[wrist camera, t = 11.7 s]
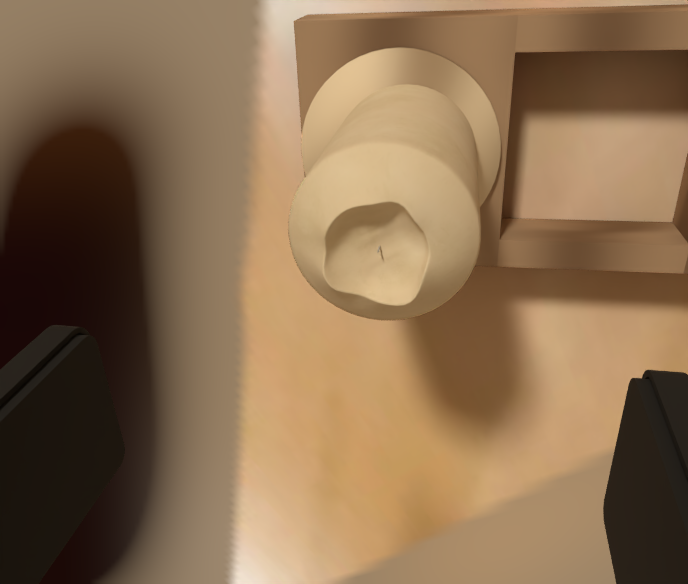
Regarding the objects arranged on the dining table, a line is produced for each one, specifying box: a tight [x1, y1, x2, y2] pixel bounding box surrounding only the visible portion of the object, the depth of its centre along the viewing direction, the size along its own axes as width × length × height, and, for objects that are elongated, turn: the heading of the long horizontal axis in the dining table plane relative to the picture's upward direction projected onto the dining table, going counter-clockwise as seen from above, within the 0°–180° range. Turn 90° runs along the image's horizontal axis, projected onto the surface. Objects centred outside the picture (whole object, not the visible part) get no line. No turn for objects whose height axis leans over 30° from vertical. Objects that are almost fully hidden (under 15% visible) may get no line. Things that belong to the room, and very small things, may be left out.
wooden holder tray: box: [294, 5, 688, 274], centre depth 26 cm, size 18×10×3 cm, turn 92°
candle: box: [289, 84, 481, 320], centre depth 21 cm, size 6×6×10 cm
